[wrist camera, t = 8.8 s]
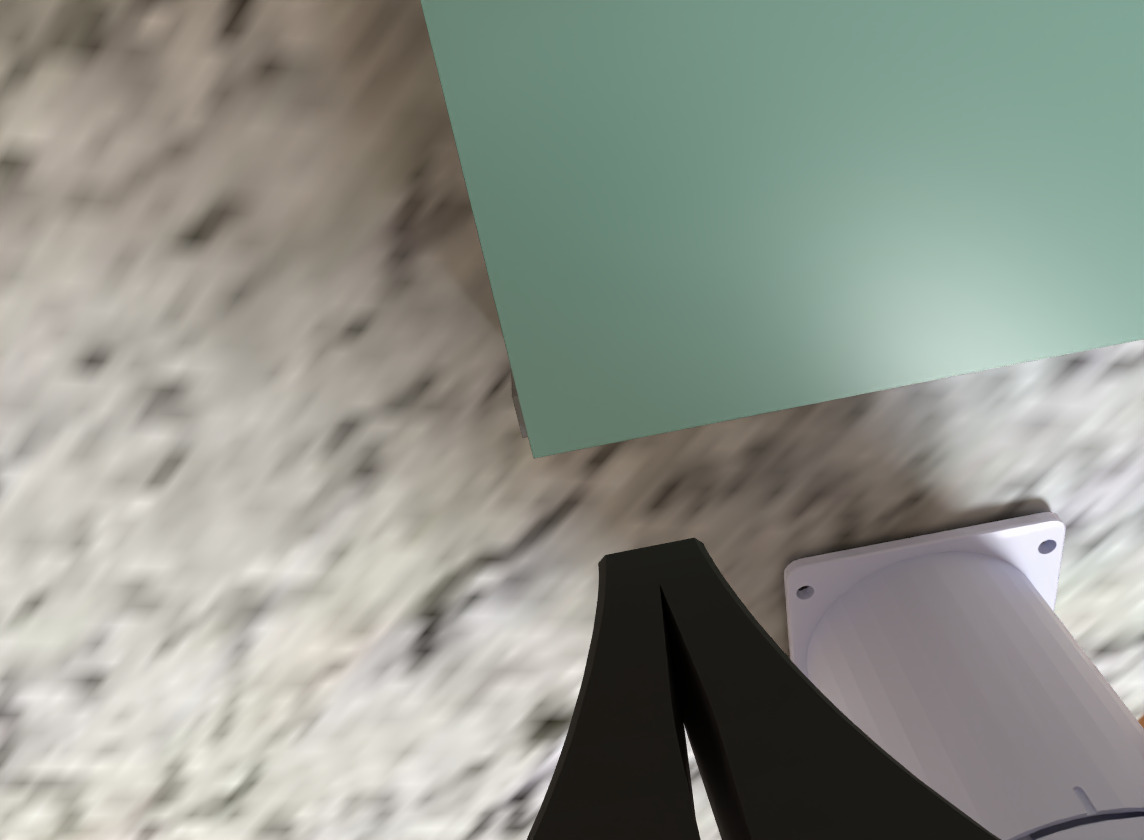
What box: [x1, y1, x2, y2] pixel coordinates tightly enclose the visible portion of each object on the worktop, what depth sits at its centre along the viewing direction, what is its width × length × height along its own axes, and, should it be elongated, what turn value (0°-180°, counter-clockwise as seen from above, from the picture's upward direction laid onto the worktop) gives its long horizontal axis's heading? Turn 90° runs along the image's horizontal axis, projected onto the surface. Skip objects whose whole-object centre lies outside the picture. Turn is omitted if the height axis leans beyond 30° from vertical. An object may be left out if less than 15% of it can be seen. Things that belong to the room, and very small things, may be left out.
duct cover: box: [420, 0, 1144, 458], centre depth 15 cm, size 10×22×1 cm, turn 100°
